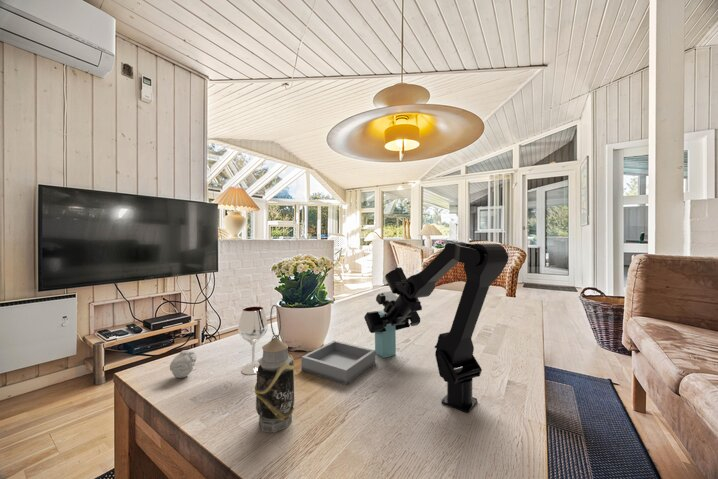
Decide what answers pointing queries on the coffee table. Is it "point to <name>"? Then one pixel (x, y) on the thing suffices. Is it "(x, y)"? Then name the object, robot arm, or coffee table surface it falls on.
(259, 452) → the coffee table surface
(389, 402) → the coffee table surface
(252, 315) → the wineglass
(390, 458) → the coffee table surface
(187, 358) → the grey rounded lump
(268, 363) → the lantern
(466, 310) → the robot arm
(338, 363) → the grey crate
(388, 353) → the teal square pillar
